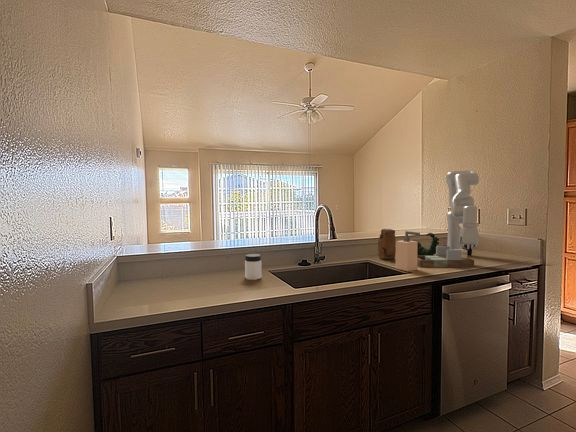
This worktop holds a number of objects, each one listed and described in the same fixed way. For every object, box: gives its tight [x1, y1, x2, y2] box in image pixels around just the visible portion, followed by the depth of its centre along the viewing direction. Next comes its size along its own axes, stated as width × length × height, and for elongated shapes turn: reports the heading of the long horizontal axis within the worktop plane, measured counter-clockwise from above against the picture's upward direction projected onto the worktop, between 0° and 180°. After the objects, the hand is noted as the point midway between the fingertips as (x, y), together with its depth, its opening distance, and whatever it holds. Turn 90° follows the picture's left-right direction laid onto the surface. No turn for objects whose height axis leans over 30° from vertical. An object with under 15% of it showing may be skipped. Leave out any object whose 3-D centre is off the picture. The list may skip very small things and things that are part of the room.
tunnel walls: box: [435, 245, 461, 260], centre depth 199 cm, size 15×8×6 cm, turn 0°
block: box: [377, 228, 397, 260], centre depth 217 cm, size 11×8×20 cm
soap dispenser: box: [394, 230, 421, 272], centre depth 184 cm, size 13×9×22 cm
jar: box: [244, 253, 263, 281], centre depth 168 cm, size 9×8×12 cm
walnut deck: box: [417, 254, 475, 268], centre depth 199 cm, size 15×32×4 cm, turn 90°
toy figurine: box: [416, 232, 440, 256], centre depth 221 cm, size 9×19×25 cm
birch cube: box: [455, 248, 468, 258], centre depth 199 cm, size 5×5×5 cm
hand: (468, 255), depth 199 cm, fingers closed
